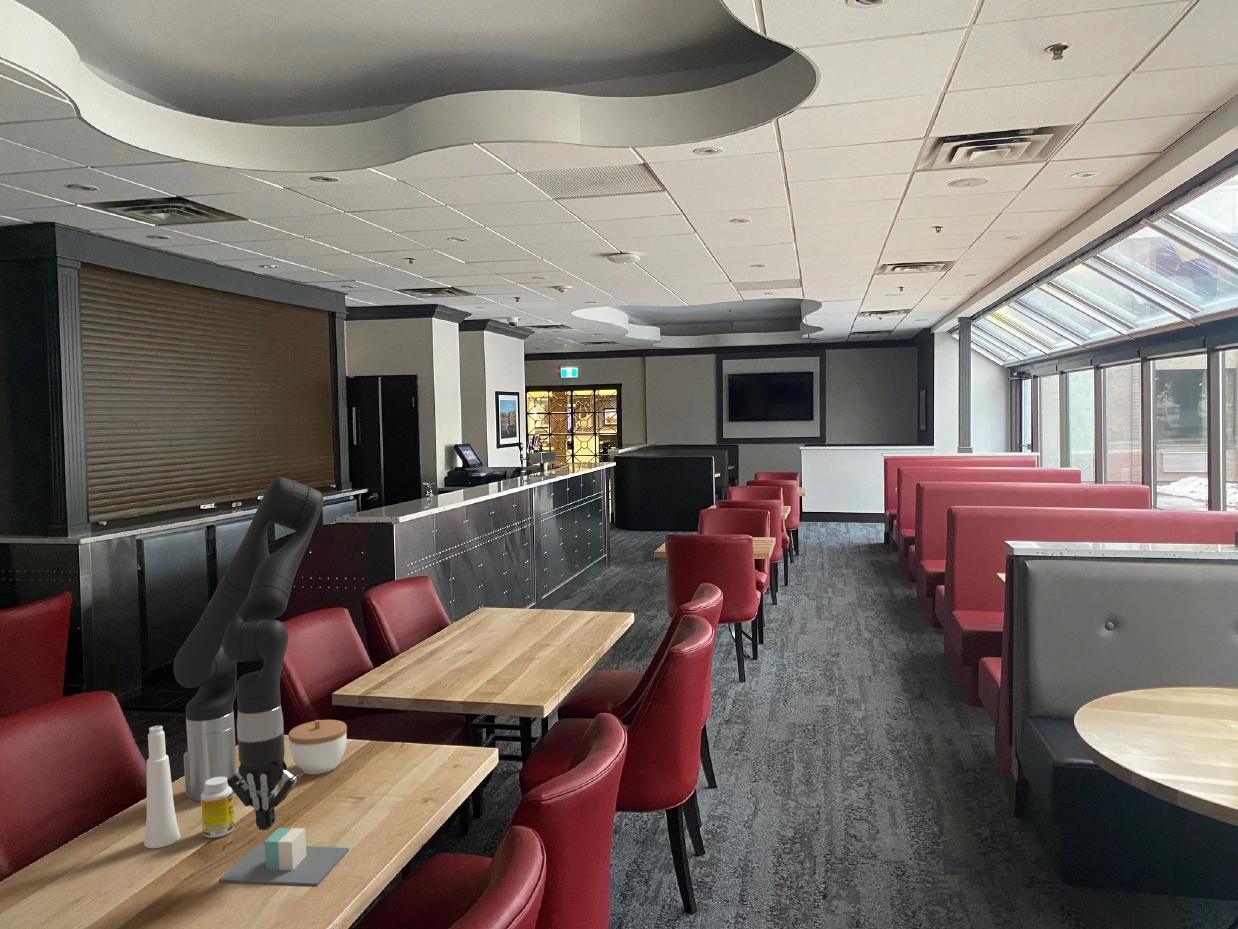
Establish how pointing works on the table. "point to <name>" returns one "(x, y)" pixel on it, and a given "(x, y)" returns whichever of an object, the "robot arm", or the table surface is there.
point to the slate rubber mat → (304, 873)
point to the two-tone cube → (285, 848)
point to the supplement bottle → (217, 808)
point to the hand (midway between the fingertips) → (265, 827)
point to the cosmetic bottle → (159, 794)
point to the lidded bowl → (318, 745)
